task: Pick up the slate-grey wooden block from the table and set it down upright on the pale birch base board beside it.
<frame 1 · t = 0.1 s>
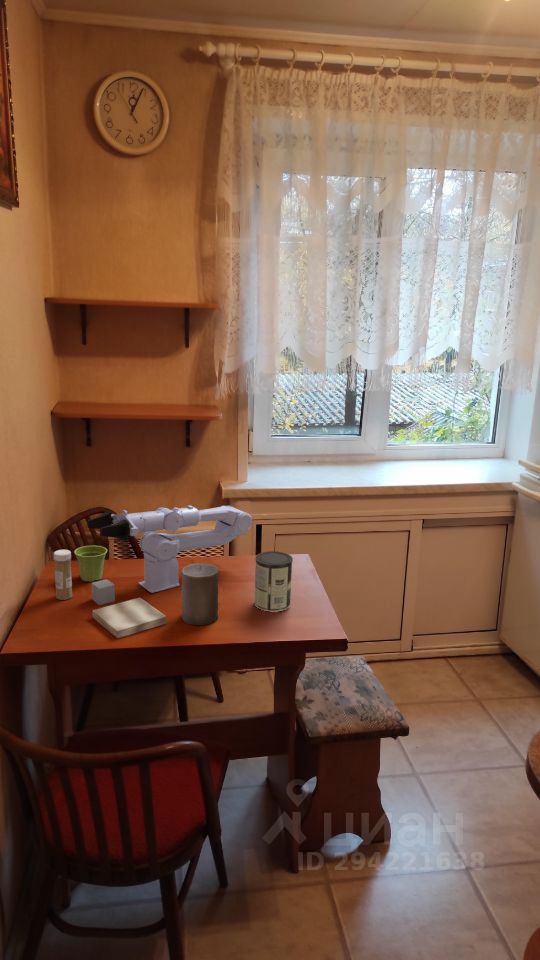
hand: (94, 528, 183), 22 cm above the table, tool horizontal, fingers open, 7 cm apart
grey block: (103, 600, 190), on the table
birch base: (129, 620, 179), on the table
sprinkles bottle: (64, 597, 191), on the table
coffee can: (272, 605, 191), on the table
pillar candle: (199, 618, 182), on the table
plant pot: (91, 578, 204), on the table
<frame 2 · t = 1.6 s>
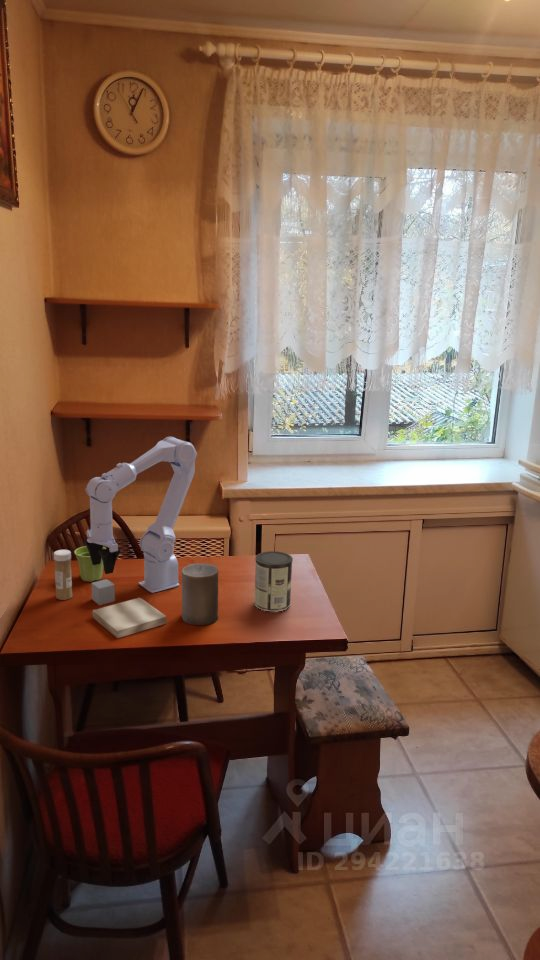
hand: (102, 568, 187), 9 cm above the table, tool pointing down, fingers open, 7 cm apart
nothing on the table moved.
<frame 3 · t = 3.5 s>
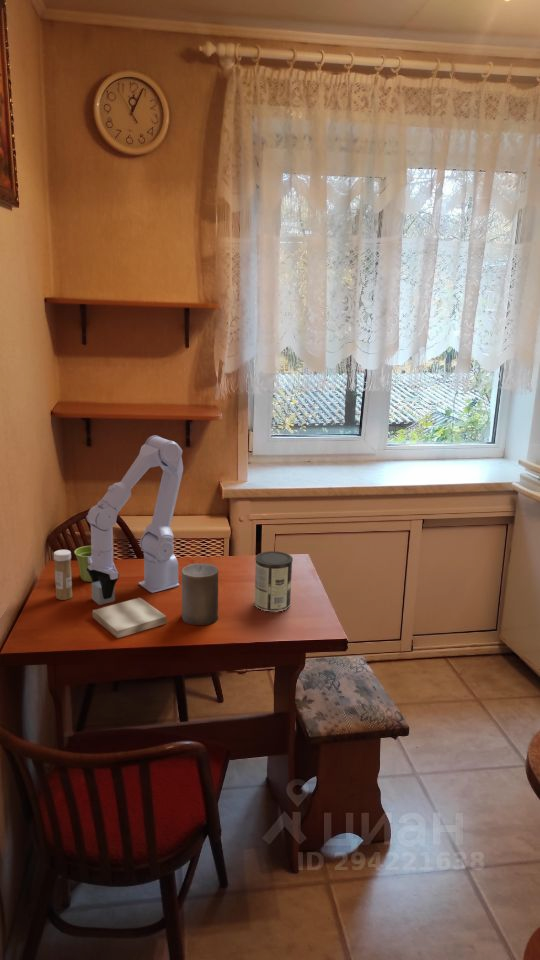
hand: (103, 594, 189), 2 cm above the table, tool pointing down, fingers closed on grey block, 5 cm apart
grey block: (103, 600, 190), on the table, touching gripper
everything else where it was.
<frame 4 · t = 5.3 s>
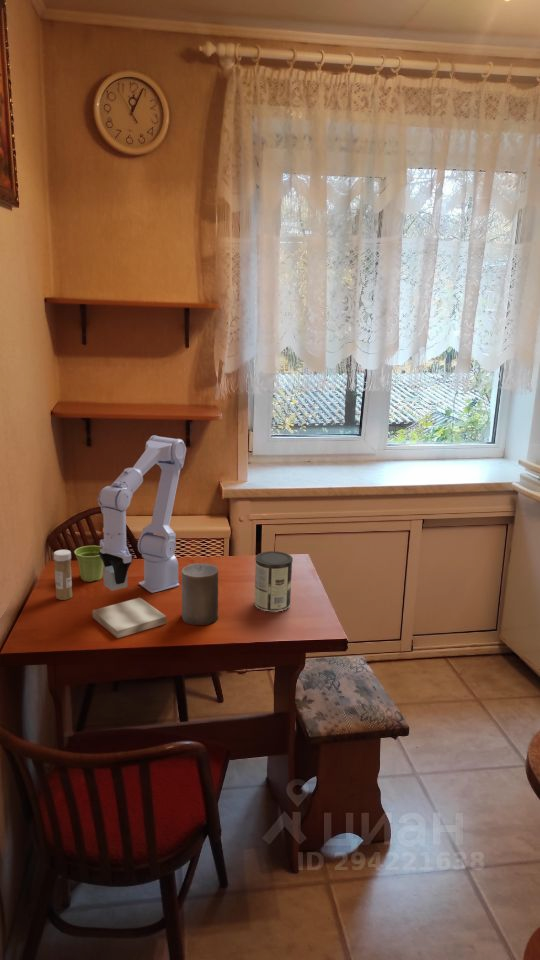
hand: (115, 579, 181), 9 cm above the table, tool pointing down, fingers closed on grey block, 5 cm apart
grey block: (115, 585, 182), point 7 cm above the table, touching gripper
everything else where it was.
when the fingers open (5 cm above the table, at t = 7.4 s): grey block stays where it is, resting on birch base.
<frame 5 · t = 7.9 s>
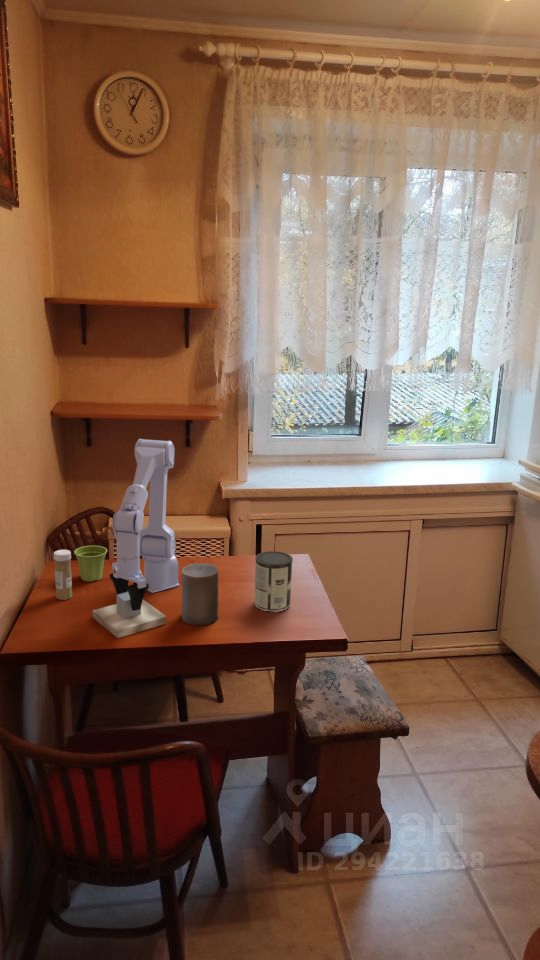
hand: (129, 604, 177), 5 cm above the table, tool pointing down, fingers open, 7 cm apart
grey block: (128, 613, 178), point 2 cm above the table, touching birch base
everything else where it was.
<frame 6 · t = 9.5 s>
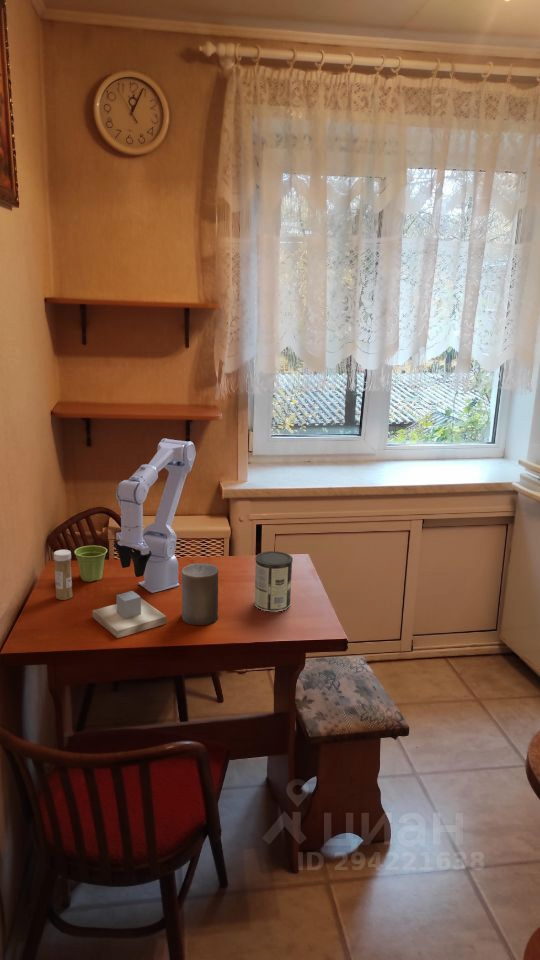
hand: (132, 571, 186), 9 cm above the table, tool pointing down, fingers open, 7 cm apart
nothing on the table moved.
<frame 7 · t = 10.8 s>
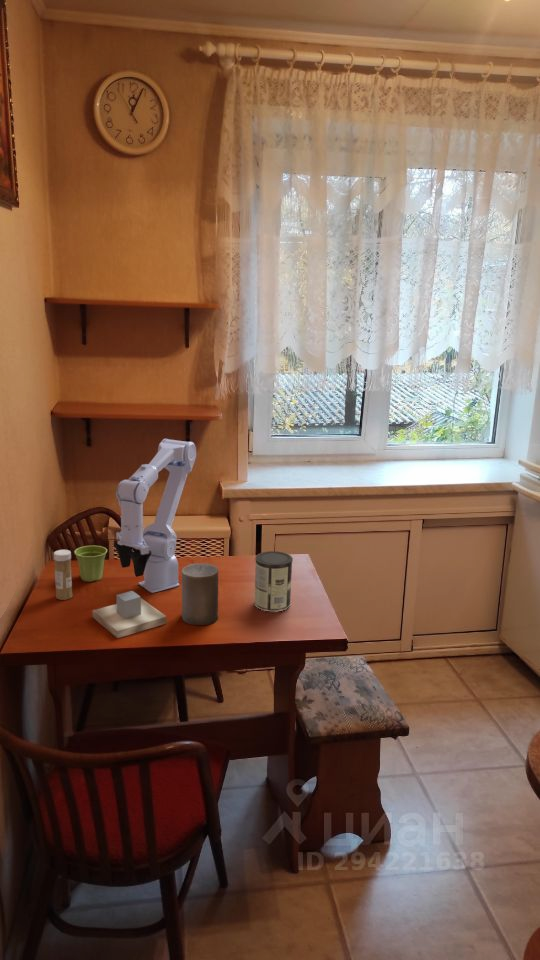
hand: (132, 571, 186), 9 cm above the table, tool pointing down, fingers open, 7 cm apart
nothing on the table moved.
at the end: grey block inside the target area on the birch base (0.1 cm from its centre), point 2.0 cm above the birch base's base; grey block tilted 0°; the gripper is holding nothing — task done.
